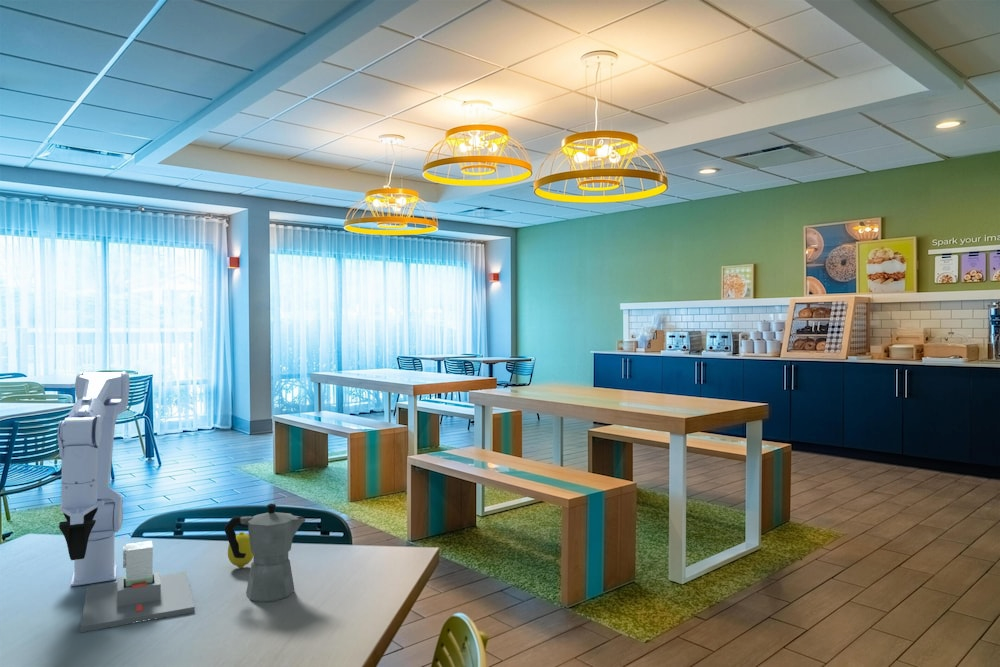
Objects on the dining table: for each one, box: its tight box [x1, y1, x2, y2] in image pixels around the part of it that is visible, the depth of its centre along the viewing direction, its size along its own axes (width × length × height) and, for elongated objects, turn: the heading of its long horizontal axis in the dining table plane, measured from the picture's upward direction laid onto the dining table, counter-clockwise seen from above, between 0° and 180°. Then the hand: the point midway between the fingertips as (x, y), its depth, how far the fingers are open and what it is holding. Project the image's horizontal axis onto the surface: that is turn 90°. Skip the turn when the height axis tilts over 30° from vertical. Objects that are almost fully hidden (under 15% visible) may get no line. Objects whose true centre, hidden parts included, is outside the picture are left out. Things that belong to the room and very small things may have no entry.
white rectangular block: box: [122, 540, 154, 587], centre depth 129 cm, size 5×5×7 cm
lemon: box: [227, 531, 254, 569], centre depth 147 cm, size 6×6×8 cm
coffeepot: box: [223, 503, 306, 603], centre depth 134 cm, size 15×9×18 cm, turn 101°
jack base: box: [80, 571, 196, 633], centre depth 129 cm, size 20×18×4 cm
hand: (78, 552), depth 125 cm, fingers open, 7 cm apart
